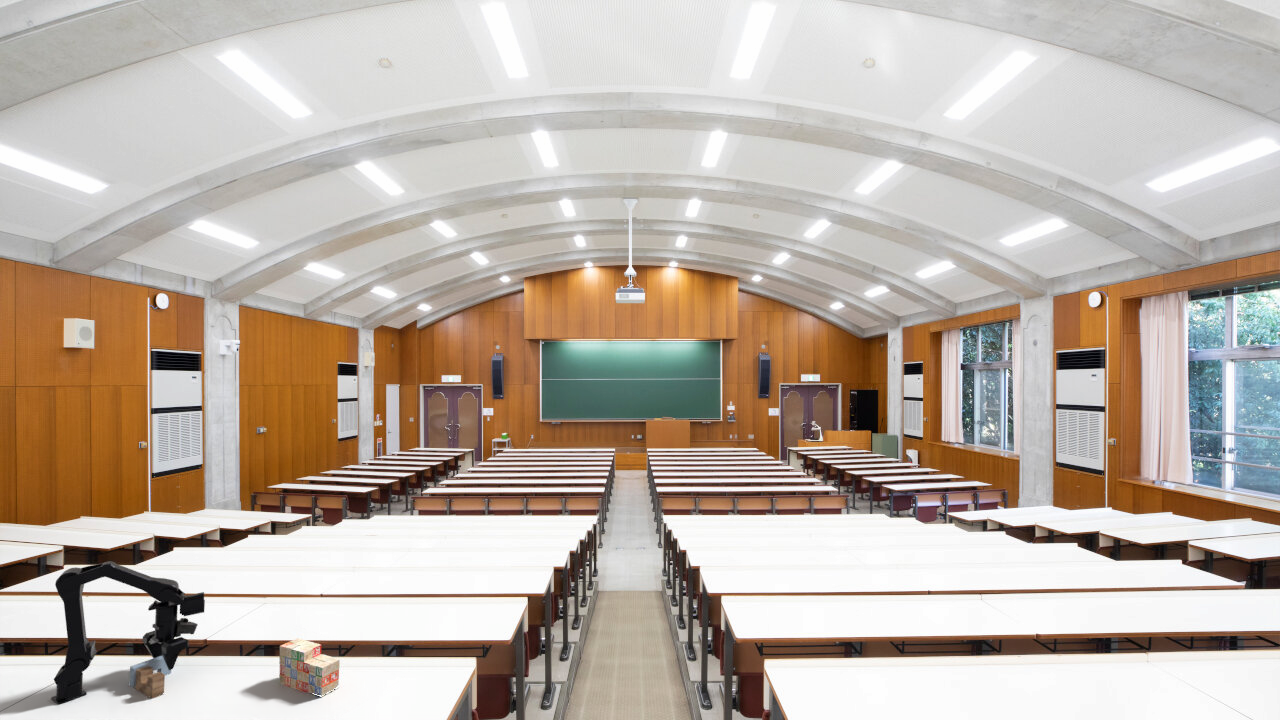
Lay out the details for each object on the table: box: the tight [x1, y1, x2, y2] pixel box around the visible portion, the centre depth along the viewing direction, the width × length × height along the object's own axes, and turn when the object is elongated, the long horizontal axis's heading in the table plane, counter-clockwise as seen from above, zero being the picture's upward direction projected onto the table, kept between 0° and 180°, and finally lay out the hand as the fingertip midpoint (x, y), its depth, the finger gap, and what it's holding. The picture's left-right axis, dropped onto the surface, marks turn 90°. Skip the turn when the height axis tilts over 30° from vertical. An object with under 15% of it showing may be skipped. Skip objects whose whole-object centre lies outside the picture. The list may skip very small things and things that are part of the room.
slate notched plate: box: [128, 656, 172, 689], centre depth 183 cm, size 10×3×6 cm, turn 152°
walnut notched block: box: [134, 666, 166, 699], centre depth 176 cm, size 12×3×6 cm, turn 62°
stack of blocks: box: [278, 637, 341, 696], centre depth 179 cm, size 21×6×12 cm, turn 65°
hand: (164, 666), depth 186 cm, fingers open, 9 cm apart
